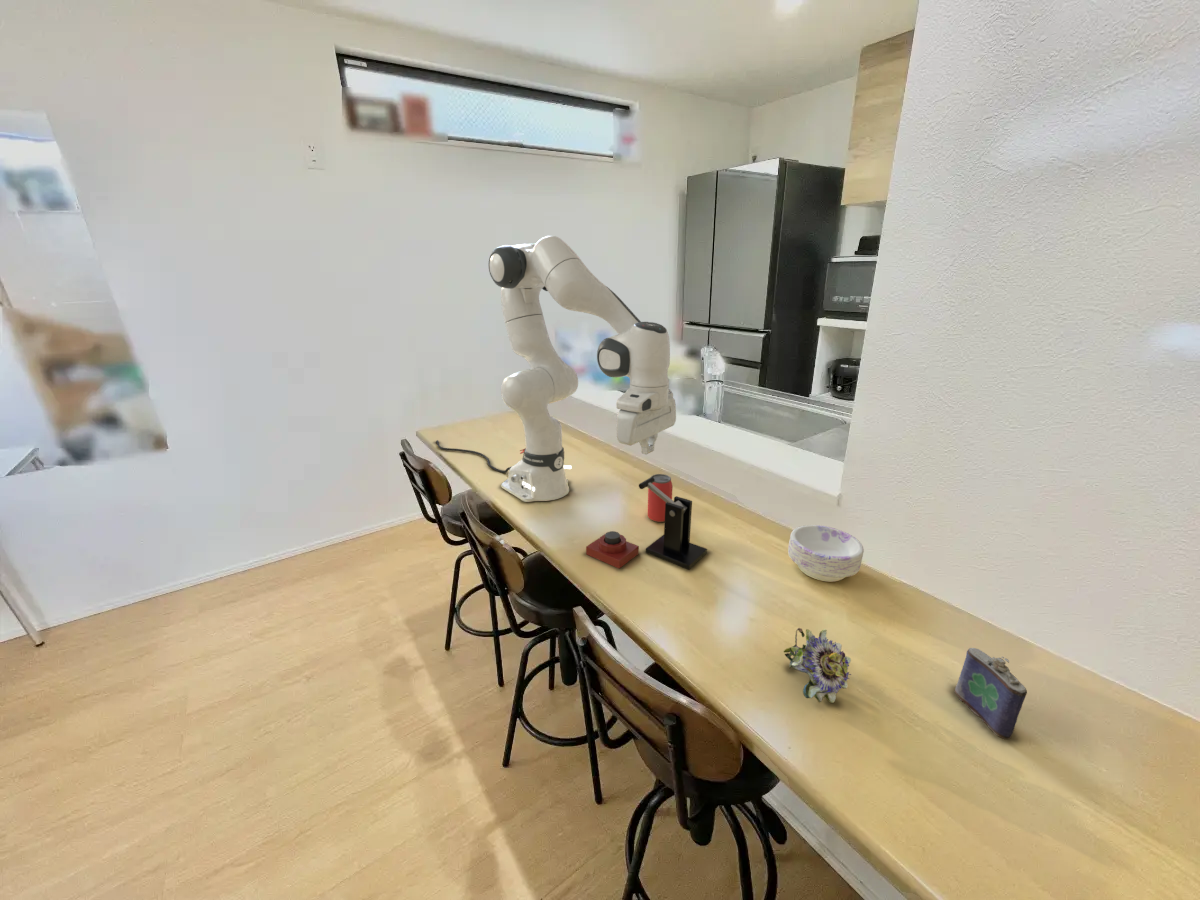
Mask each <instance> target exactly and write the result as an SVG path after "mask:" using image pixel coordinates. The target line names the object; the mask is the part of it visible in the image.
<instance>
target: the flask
mask: <svg viewBox="0 0 1200 900" xmlns="http://www.w3.org/2000/svg"><path fill="white" fill-rule="evenodd" d="M1007 663H1010V660H1009V658H1006V657H1004V656H1001V657H995V656H990V655H989V654H987V653H986V652H984V651H983V650H981V649H979V648H975V647H969V648H968V649H967V651H966V654H965V659H964V662H963V665H962V669H961V671H960V674H959V677H958V680H957V683H956V685H955V689H954V693H955V695H956V697H957V698H958V699H959V701H960V702H963V703H964V704H965V705H966V706H967V708H968V709H969V710H970V711H971V712H972V713H973V714H974V715H976V716H977V717H979V718H980V721H981V722H983V723H985V724H986V725H987V728H989V729H990V730H991V731H992V732H993V734H994V735H995V736H997V737H1000V738H1001V739H1003V740H1010V739H1011V738H1012V735H1013V733H1014V730H1015V727H1016V725H1017V722H1018V718H1019V716H1020V712H1021V710H1022V707H1023V703H1024V701H1025V699H1026V696H1027V694H1028V690H1027V688H1026V687H1025V685H1024V684H1023V683H1021V681H1019V679H1018V678H1017V677H1016V676H1015V674H1013V673H1012V672H1011V669H1010V668H1009V667H1008V666H1007V665H1006V664H1007Z"/></svg>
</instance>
